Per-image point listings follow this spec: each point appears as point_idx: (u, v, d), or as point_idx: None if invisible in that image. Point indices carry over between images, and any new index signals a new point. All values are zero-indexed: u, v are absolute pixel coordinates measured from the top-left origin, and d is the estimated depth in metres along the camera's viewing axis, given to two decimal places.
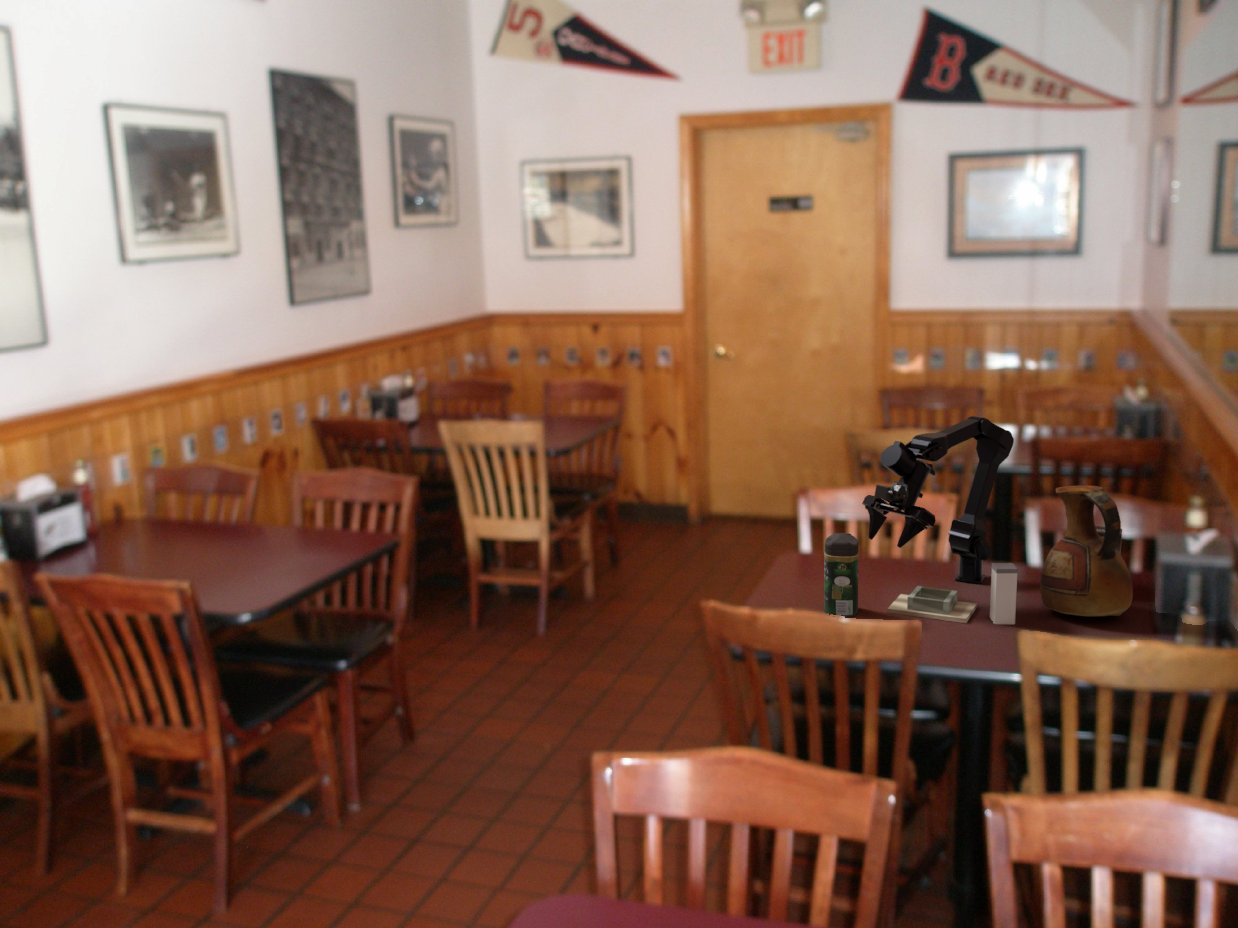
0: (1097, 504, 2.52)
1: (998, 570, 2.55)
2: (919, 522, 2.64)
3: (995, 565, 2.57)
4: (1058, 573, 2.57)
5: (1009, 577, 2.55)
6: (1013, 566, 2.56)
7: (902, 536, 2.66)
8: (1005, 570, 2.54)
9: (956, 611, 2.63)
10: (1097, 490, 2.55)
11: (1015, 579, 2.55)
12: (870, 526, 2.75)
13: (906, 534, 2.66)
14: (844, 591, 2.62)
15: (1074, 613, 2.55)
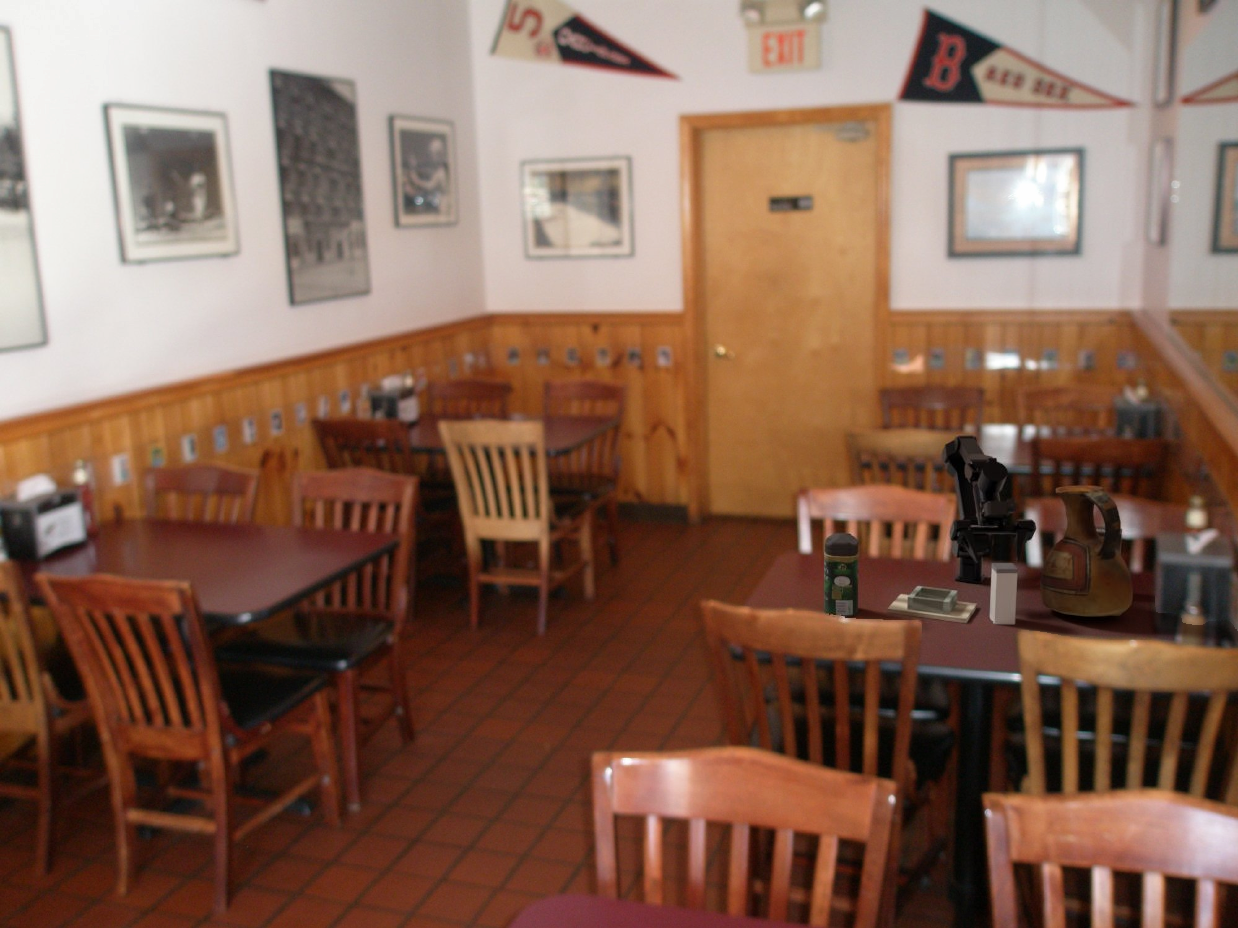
0: (1097, 504, 2.52)
1: (998, 570, 2.55)
2: None
3: (995, 565, 2.57)
4: (1058, 573, 2.57)
5: (1009, 577, 2.55)
6: (1013, 566, 2.56)
7: (1019, 550, 2.63)
8: (1005, 570, 2.55)
9: (956, 611, 2.63)
10: (1097, 490, 2.55)
11: (1015, 579, 2.55)
12: (974, 549, 2.64)
13: None
14: (844, 591, 2.62)
15: (1074, 613, 2.55)
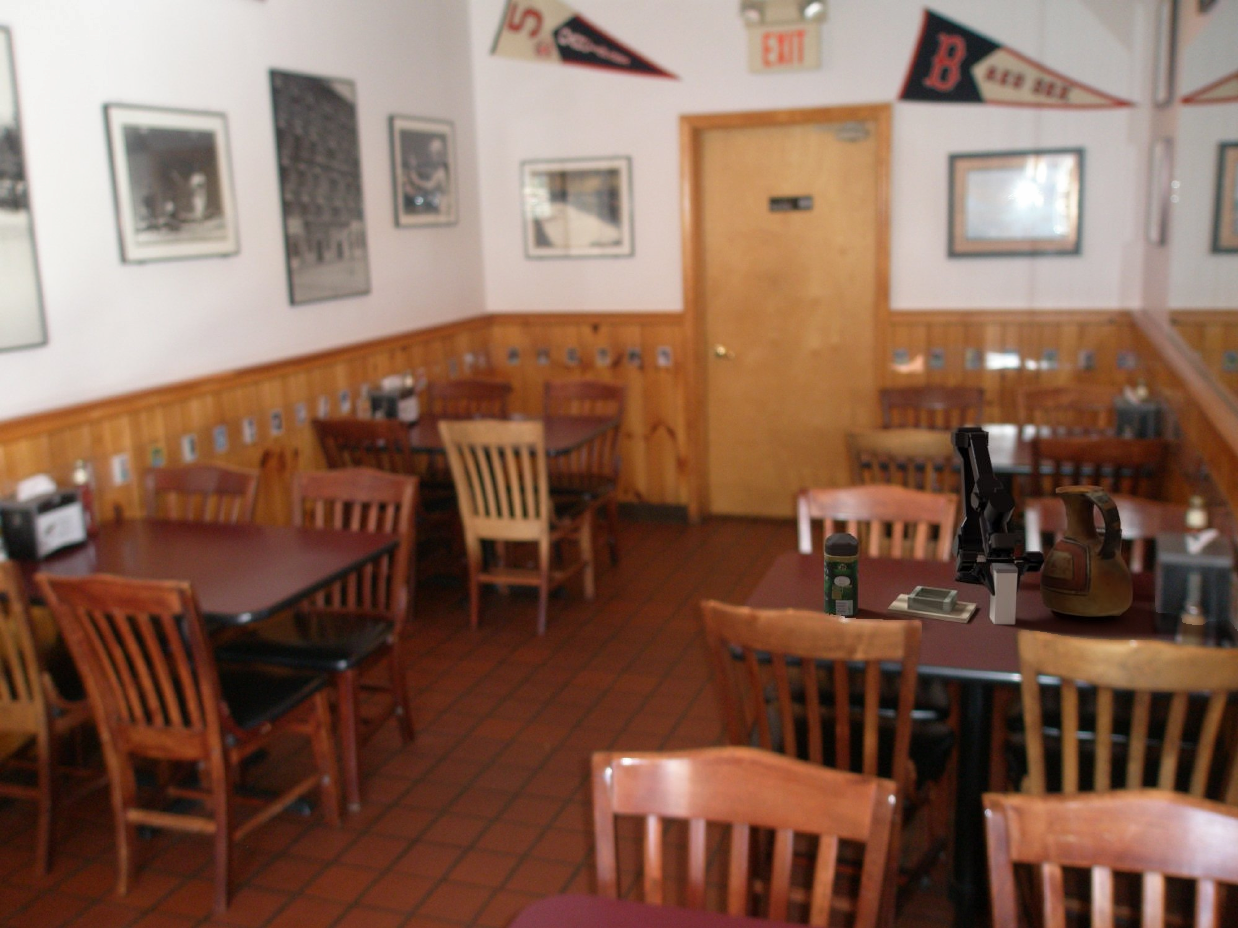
0: (1097, 504, 2.52)
1: (998, 570, 2.55)
2: None
3: (995, 565, 2.57)
4: (1058, 573, 2.57)
5: (1009, 577, 2.55)
6: (1013, 566, 2.56)
7: (1017, 583, 2.57)
8: (1005, 570, 2.54)
9: (956, 611, 2.63)
10: (1097, 490, 2.55)
11: (1015, 579, 2.55)
12: (990, 581, 2.57)
13: None
14: (844, 591, 2.62)
15: (1074, 613, 2.55)
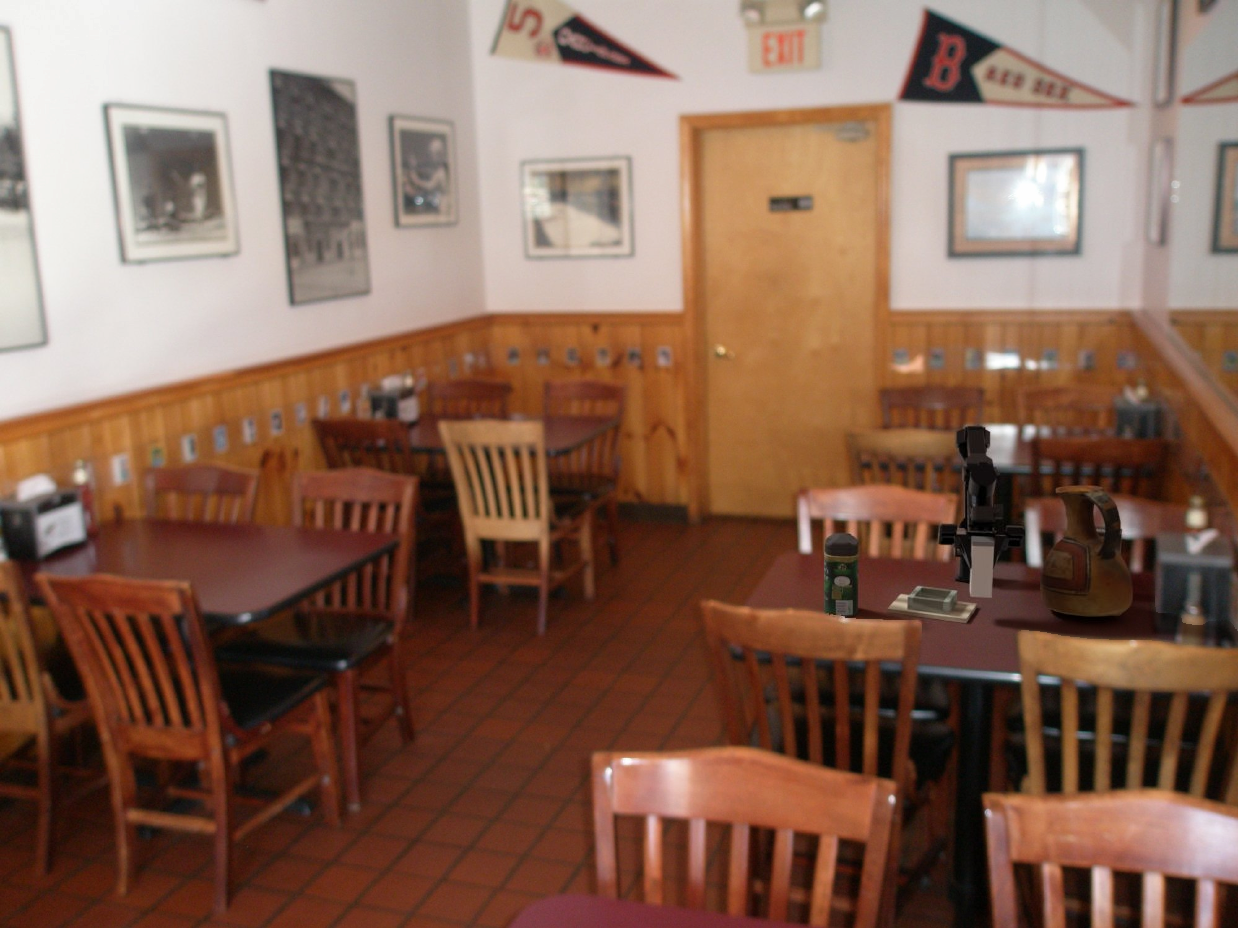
0: (1097, 504, 2.52)
1: (974, 543, 2.56)
2: None
3: (973, 538, 2.58)
4: (1058, 573, 2.57)
5: (986, 551, 2.55)
6: (991, 540, 2.56)
7: (996, 556, 2.57)
8: (981, 543, 2.55)
9: (956, 611, 2.63)
10: (1097, 490, 2.55)
11: (992, 553, 2.55)
12: (968, 554, 2.59)
13: (998, 555, 2.58)
14: (844, 591, 2.62)
15: (1074, 613, 2.55)
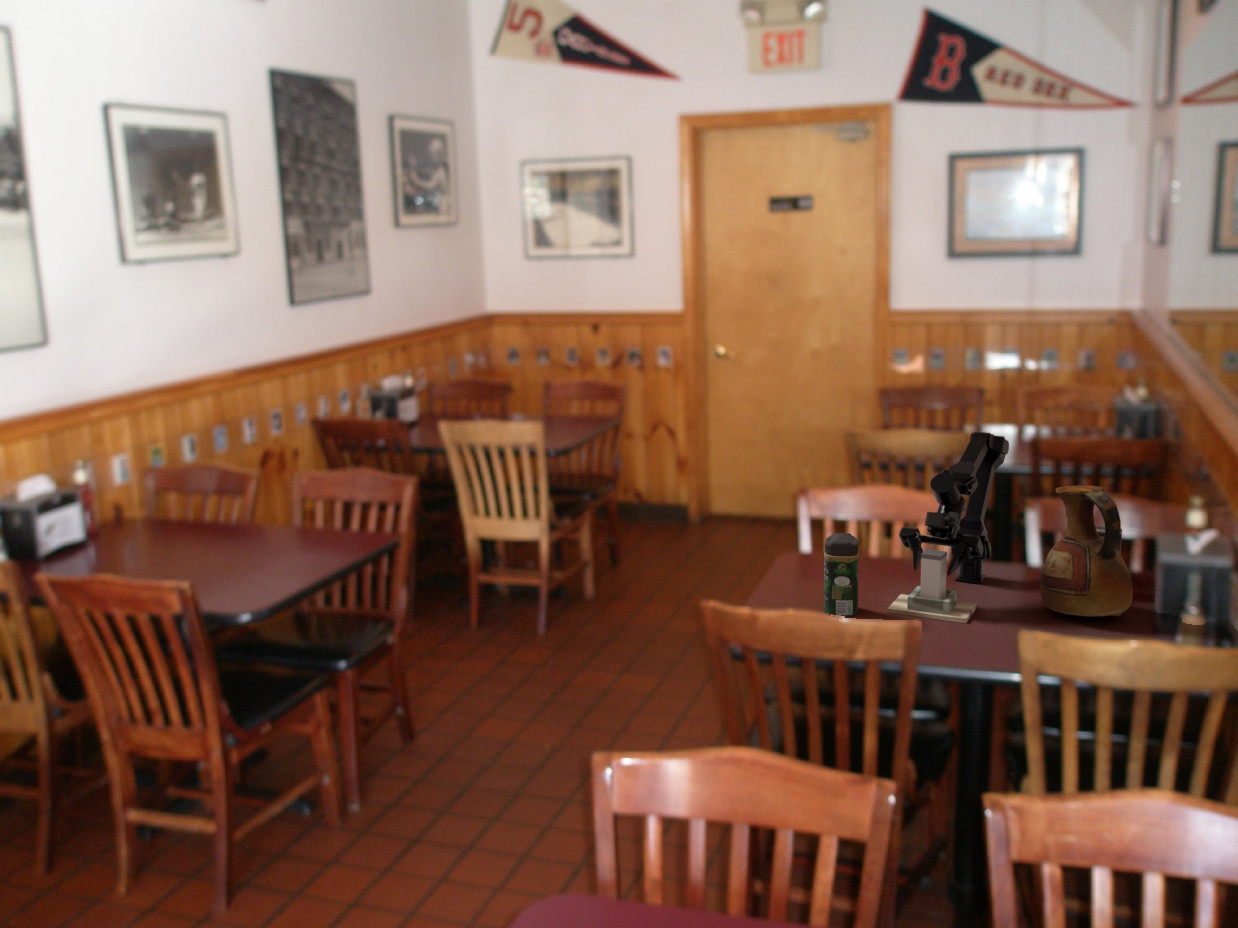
0: (1097, 504, 2.52)
1: (922, 555, 2.64)
2: (969, 550, 2.63)
3: (926, 551, 2.66)
4: (1058, 573, 2.57)
5: (933, 564, 2.63)
6: (941, 554, 2.63)
7: (952, 564, 2.62)
8: (929, 556, 2.63)
9: (956, 611, 2.63)
10: (1097, 490, 2.55)
11: (938, 566, 2.62)
12: (914, 557, 2.68)
13: (956, 562, 2.63)
14: (844, 591, 2.62)
15: (1074, 613, 2.55)
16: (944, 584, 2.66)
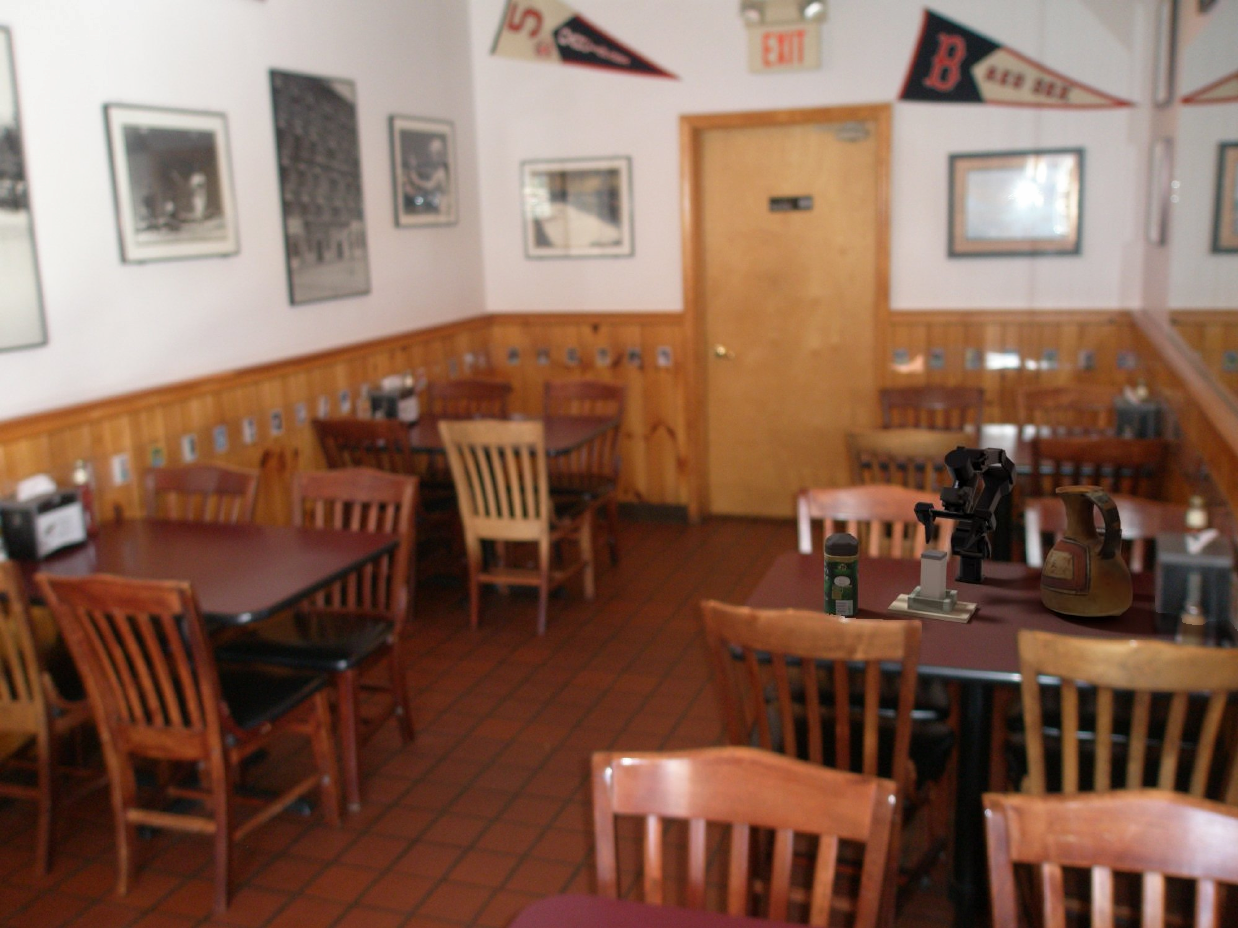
0: (1097, 504, 2.52)
1: (922, 555, 2.64)
2: (985, 524, 2.69)
3: (926, 551, 2.66)
4: (1058, 573, 2.57)
5: (933, 564, 2.63)
6: (941, 554, 2.63)
7: (969, 537, 2.69)
8: (929, 556, 2.63)
9: (956, 611, 2.63)
10: (1097, 490, 2.55)
11: (938, 566, 2.62)
12: (926, 531, 2.75)
13: (972, 536, 2.69)
14: (844, 591, 2.62)
15: (1074, 613, 2.55)
16: (944, 584, 2.66)
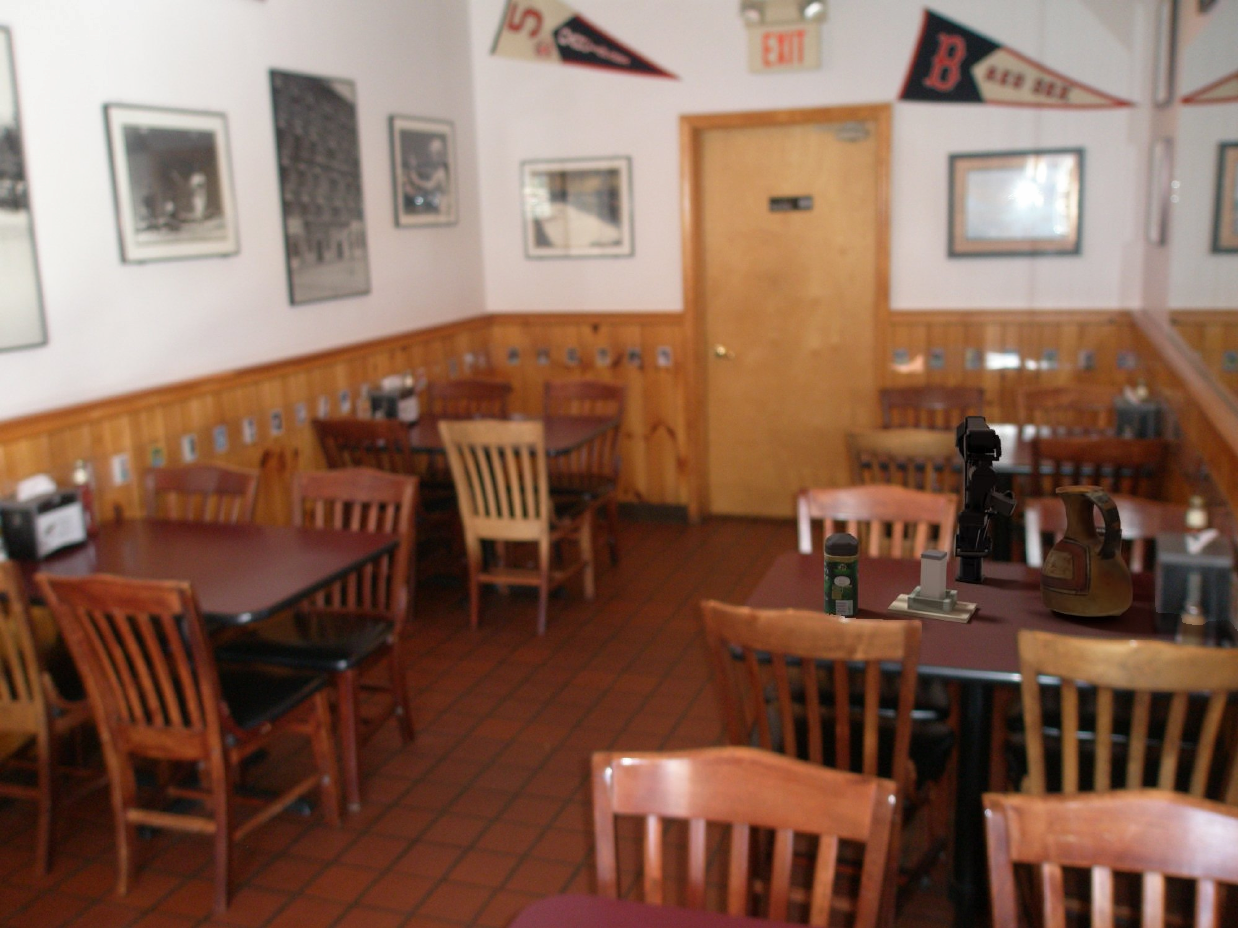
0: (1097, 504, 2.52)
1: (922, 555, 2.64)
2: None
3: (926, 551, 2.66)
4: (1058, 573, 2.57)
5: (933, 564, 2.63)
6: (941, 554, 2.63)
7: (985, 530, 2.77)
8: (929, 556, 2.63)
9: (956, 611, 2.63)
10: (1097, 490, 2.55)
11: (938, 566, 2.62)
12: (977, 539, 2.68)
13: None
14: (844, 591, 2.62)
15: (1074, 613, 2.55)
16: (944, 584, 2.66)
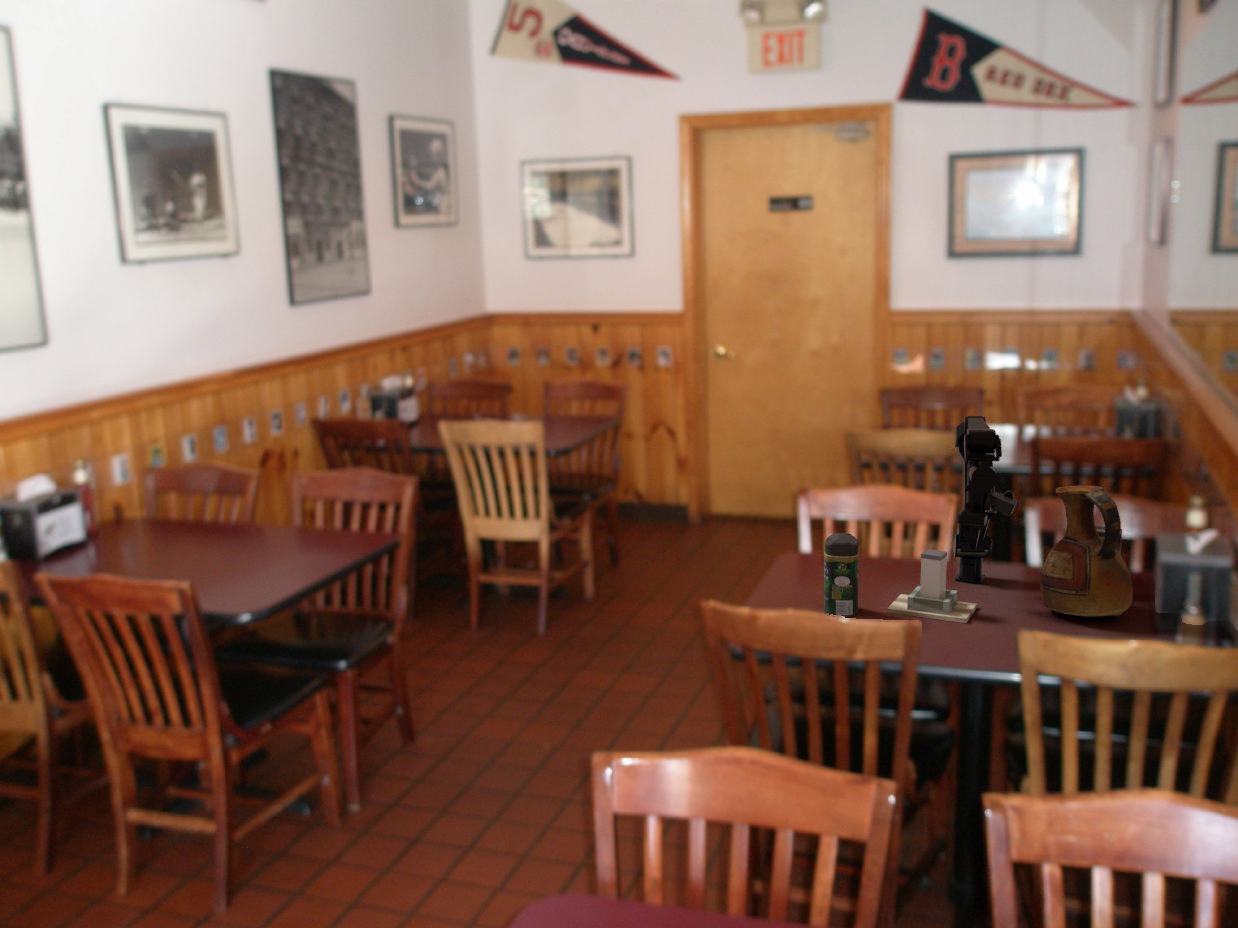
0: (1097, 504, 2.52)
1: (922, 555, 2.64)
2: None
3: (926, 551, 2.66)
4: (1058, 573, 2.57)
5: (933, 564, 2.63)
6: (941, 554, 2.63)
7: (986, 530, 2.77)
8: (929, 556, 2.63)
9: (956, 611, 2.63)
10: (1097, 490, 2.55)
11: (938, 566, 2.62)
12: (977, 539, 2.68)
13: None
14: (844, 591, 2.62)
15: (1074, 613, 2.55)
16: (944, 584, 2.66)
